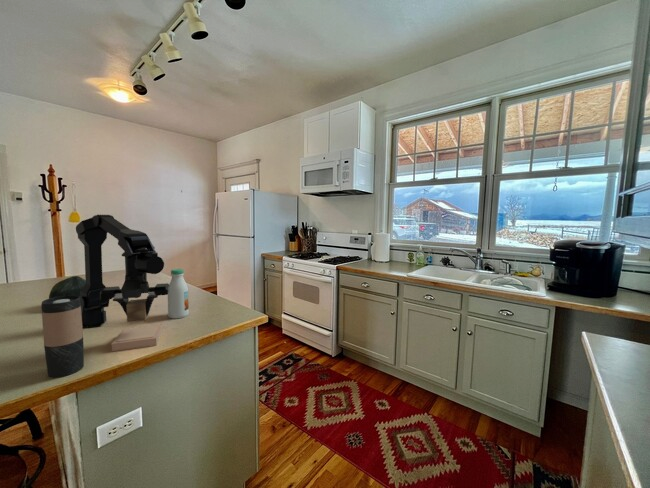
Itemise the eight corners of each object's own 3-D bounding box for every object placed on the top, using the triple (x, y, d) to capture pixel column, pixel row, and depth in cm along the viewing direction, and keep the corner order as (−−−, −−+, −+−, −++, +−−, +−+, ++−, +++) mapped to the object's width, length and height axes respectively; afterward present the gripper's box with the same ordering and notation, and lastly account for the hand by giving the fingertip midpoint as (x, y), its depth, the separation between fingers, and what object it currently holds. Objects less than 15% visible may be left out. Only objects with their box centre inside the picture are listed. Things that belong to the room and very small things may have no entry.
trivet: (111, 351, 84) (111, 343, 84) (123, 335, 95) (122, 328, 95) (156, 345, 89) (156, 337, 89) (162, 330, 100) (162, 323, 100)
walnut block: (127, 322, 88) (126, 304, 88) (131, 316, 93) (130, 299, 92) (145, 320, 90) (144, 303, 90) (148, 315, 95) (147, 298, 94)
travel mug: (92, 362, 78) (88, 295, 76) (68, 378, 70) (62, 304, 68) (65, 362, 78) (60, 295, 76) (37, 378, 70) (31, 303, 68)
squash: (51, 292, 125) (48, 272, 117) (93, 288, 135) (94, 269, 127) (49, 319, 118) (46, 299, 110) (94, 313, 128) (94, 294, 120)
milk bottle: (179, 319, 111) (178, 272, 109) (163, 318, 112) (162, 270, 110) (192, 313, 118) (191, 268, 116) (177, 311, 120) (176, 267, 118)
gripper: (91, 277, 79) (94, 328, 80) (164, 274, 86) (166, 321, 88) (104, 270, 89) (107, 315, 91) (169, 267, 96) (170, 309, 98)
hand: (138, 315), depth 92 cm, fingers closed on walnut block, 5 cm apart
